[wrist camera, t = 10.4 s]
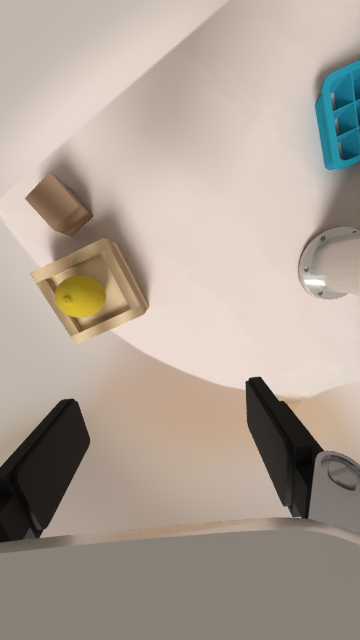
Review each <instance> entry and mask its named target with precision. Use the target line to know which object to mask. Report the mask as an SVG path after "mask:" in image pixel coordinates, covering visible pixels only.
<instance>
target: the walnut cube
mask: <svg viewBox="0 0 360 640" xmlns="http://www.w3.org/2000/svg"><path fill="white" fill-rule="evenodd" d="M25 199H26V200H27V201H28V202H29V204H30V205H31V206H32V207H33V208H34V209H35V210H36V211H37V212H38V213H39V214H40V216H41V217H42V218H43V219H44V220H45V221H46V222H47V223H48V224H49V225H50V226H51V228H52V229H53V230H55V231H58V232H61V233H64V234H66V235H69V236H73V235H74V234H75V233H76V232H77V231H78V230H79V229H80V228H81V227H82V226H83V225H85V224H86V223H87V222H88V221H89V220H90V219H91V218H92V217H93V215H92V214H91V213H90V211H89V210H88V209H87V208H86V207H85V205H84V204H83V203H82V202H81V201H80V199H79V198H78V197H77V196H76V195H75V194H74V192H73V191H72V190H71V189H70V188H69V187H68V186H67V185H66V184H64V183H63V182H62V181H61V180H59V179H58V178H57V177H56V176H55V175H53V174H52V173H51V172H50V173H49V174H48V175H47V176H46V177H45V178H44V179H43V180H42V181H41V182H40V183H39V184H38V185H37V186H36V187H35V188H34V189H33V190H32V191H31V192H30V193H29V195H28V196H27V197H26V198H25Z"/></svg>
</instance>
